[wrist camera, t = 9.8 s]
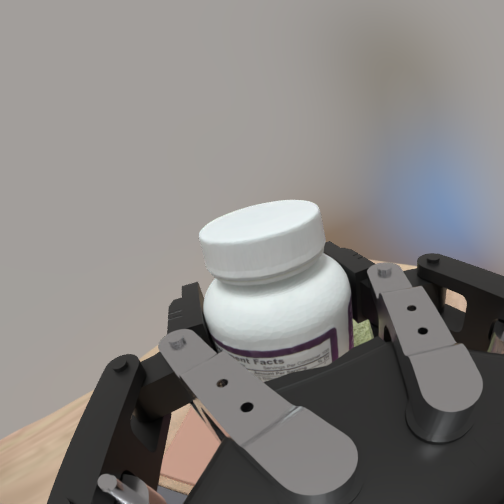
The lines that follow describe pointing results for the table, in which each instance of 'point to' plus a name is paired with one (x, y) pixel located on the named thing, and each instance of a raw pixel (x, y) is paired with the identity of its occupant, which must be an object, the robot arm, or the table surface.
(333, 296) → the pill bottle
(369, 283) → the robot arm
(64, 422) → the table surface
